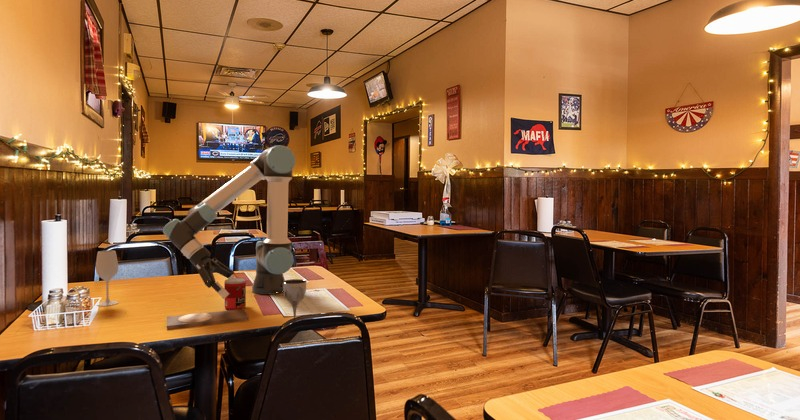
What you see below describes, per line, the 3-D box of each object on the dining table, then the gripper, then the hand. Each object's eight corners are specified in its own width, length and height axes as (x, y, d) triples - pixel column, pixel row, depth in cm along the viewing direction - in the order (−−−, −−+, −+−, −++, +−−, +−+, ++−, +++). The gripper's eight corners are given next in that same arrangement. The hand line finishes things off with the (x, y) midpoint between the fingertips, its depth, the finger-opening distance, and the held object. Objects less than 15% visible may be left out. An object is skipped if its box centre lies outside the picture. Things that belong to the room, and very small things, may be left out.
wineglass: (123, 302, 190) (122, 251, 189) (104, 307, 184) (103, 253, 182) (110, 300, 194) (109, 249, 192) (91, 304, 187) (90, 251, 186)
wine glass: (310, 322, 168) (310, 280, 167) (298, 328, 160) (298, 284, 160) (290, 319, 171) (291, 278, 170) (278, 325, 163) (278, 282, 162)
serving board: (243, 312, 179) (243, 308, 179) (248, 320, 169) (248, 316, 169) (166, 320, 168) (166, 315, 168) (166, 329, 157) (166, 325, 157)
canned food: (239, 311, 181) (239, 282, 180) (220, 309, 182) (220, 281, 182) (249, 306, 188) (249, 278, 188) (231, 305, 190) (231, 277, 189)
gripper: (205, 255, 197) (240, 291, 197) (172, 265, 173) (212, 307, 172) (217, 242, 197) (252, 279, 197) (186, 250, 172) (226, 293, 172)
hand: (234, 292), depth 185 cm, fingers open, 13 cm apart
